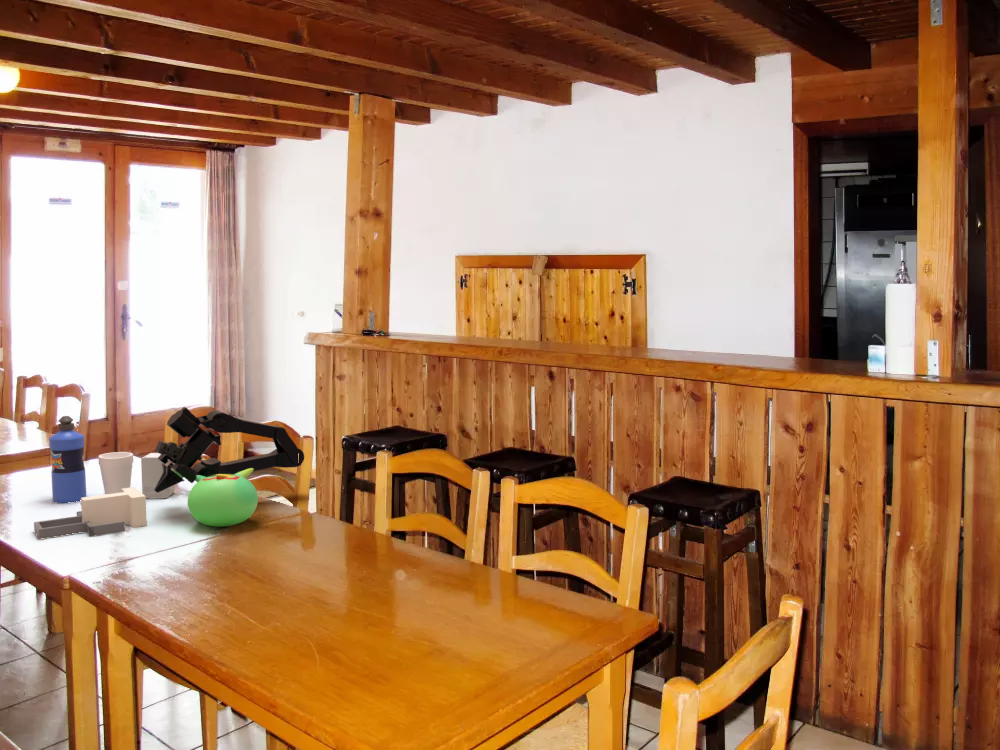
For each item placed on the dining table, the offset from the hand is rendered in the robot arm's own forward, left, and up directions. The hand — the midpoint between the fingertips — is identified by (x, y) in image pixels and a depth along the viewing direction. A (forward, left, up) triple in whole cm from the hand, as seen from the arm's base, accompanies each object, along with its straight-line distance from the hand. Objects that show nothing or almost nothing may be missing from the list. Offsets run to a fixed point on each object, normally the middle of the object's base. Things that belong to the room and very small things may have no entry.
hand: (155, 491), depth 242 cm
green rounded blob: (-21, 0, -8) cm, 23 cm away
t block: (+7, +9, -7) cm, 14 cm away
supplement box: (+15, -20, -8) cm, 26 cm away
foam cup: (+25, -14, -8) cm, 29 cm away
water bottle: (+37, -8, -8) cm, 38 cm away
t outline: (+12, +16, -7) cm, 21 cm away
